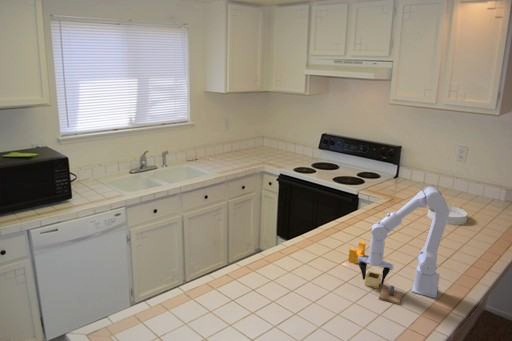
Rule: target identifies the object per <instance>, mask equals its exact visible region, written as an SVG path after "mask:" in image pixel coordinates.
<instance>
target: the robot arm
mask: <svg viewBox="0 0 512 341" xmlns="http://www.w3.org/2000/svg"><path fill="white" fill-rule="evenodd" d="M427 206H428V207H427ZM448 206H449V205H448V204H447V200H446V199H445V197H444V196H443V194H442V193H441V191H439V189H438V188H437V187H435V186H432V185H429V186H426V187H424V188H423V190H420V191H419V192H418V193H417V194H416V195H415V196H414V197H412V198H411V199H410V200H408V202H406V203H405V204H404V205H403V206H402V207H401V208H400V209H398V210H397V211H392V212H387V213H386V214H385V215H386V216H385V217H384V218H382V219H381V220H378V221H377V223H376V222H375V223H373V225H372V226H371V227H370V231H371V236H370V237H371V238H370V244H369V251H368V252H369V253H368V257H367V256H366V257H364V256H363V257H358V260H357V262H358V265H359V269H360V271H361V275H362V280H363V281H365V279H366V275H367V266H368V265H370V266H373V267H378V268H382V273H381V274H382V276H381V283H380V285H384V283H385V279H386V278H387V276H388V274H389V273H390V271H393V270H394V265H395V264H393V263H390V262H387V261H385V260H384V252H385V244H386V242H385V241H386V240H385V239H387V237H388V234H389V233H391V232H392V231H393V230H395V228H396V229H397V227H398V226H400V225H401V224H402V222H403V221H402V220H403V219H404V218H406V217H407V216H408V215H410V214H412V213H413V212H414V211H416V210H417V209H419V208H424V209H428V208H429V207H431V208H432V209H433V210H434V211H435V214H434V217H433V220H432V219H431V220H432V221H431V225H430V228H429V232H428V234H427V237H426V240H425V244H424V246H423V247H422V248H421V250H420V252H419V253H418V254H417V256H416V261H417V263H418V264H417V265H416V268H415V274H414V282H413V284H412V287H411V292H412V293H415V294H418V295H422V296H427V297H430V298H435V299H436V298H437V293H438V292H439V282H440V276H441V274H440V273H438V272H436V271H437V268H438V267H437V261H438V250H439V247H440V245H441V242H442V238H443V234H444V231H445V228H446V225H447V224H446V222H447V219H448V216H449V209H448Z"/></svg>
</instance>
